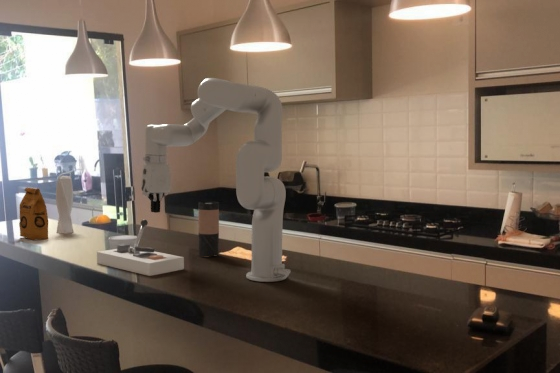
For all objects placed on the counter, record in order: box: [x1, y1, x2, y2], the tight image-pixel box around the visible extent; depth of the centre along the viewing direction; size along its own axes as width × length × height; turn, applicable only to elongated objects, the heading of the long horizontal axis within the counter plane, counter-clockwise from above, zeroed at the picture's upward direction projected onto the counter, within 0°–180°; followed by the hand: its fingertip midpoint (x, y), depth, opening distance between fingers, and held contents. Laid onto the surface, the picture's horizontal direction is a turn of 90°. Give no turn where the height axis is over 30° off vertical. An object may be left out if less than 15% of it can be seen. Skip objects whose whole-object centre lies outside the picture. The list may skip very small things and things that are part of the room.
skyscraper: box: [55, 171, 74, 235], centre depth 266 cm, size 8×8×28 cm
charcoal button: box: [117, 244, 130, 253], centre depth 199 cm, size 4×4×3 cm
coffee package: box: [18, 187, 49, 241], centre depth 249 cm, size 10×12×22 cm
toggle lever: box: [130, 219, 149, 253], centre depth 197 cm, size 2×2×12 cm
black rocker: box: [135, 246, 155, 252], centre depth 192 cm, size 3×5×1 cm, turn 140°
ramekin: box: [107, 234, 138, 250], centre depth 223 cm, size 11×11×5 cm
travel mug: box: [197, 201, 220, 257], centre depth 214 cm, size 8×8×20 cm
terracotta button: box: [150, 255, 163, 260], centre depth 188 cm, size 4×4×3 cm
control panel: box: [96, 247, 185, 277], centre depth 194 cm, size 29×14×6 cm, turn 50°
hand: (155, 212), depth 202 cm, fingers closed
